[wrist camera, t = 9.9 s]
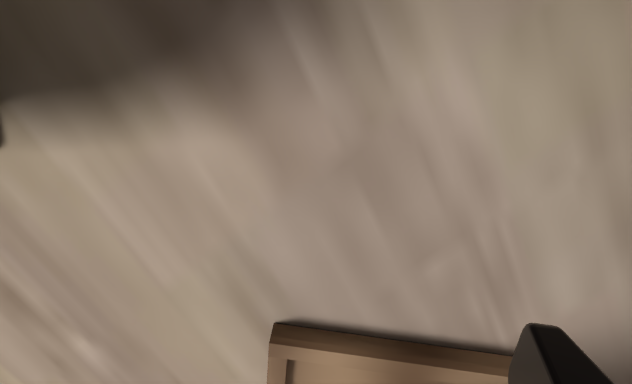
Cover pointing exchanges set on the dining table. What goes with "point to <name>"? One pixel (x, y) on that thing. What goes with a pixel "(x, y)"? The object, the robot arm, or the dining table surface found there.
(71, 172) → the dining table surface
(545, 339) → the robot arm
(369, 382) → the walnut tray
